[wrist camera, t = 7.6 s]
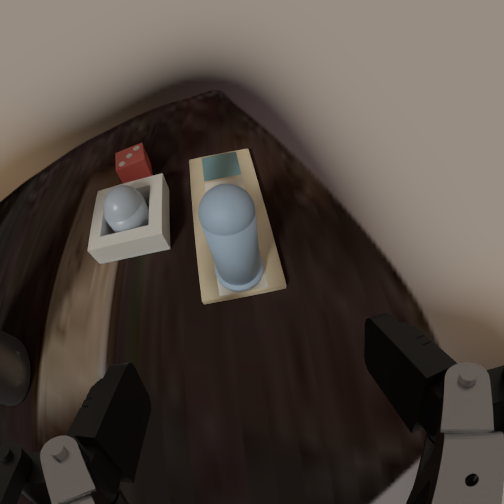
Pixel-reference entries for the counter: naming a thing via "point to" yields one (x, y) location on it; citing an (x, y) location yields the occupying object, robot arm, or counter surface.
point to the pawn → (232, 236)
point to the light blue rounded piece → (125, 208)
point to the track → (243, 174)
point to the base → (138, 239)
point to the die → (133, 164)
